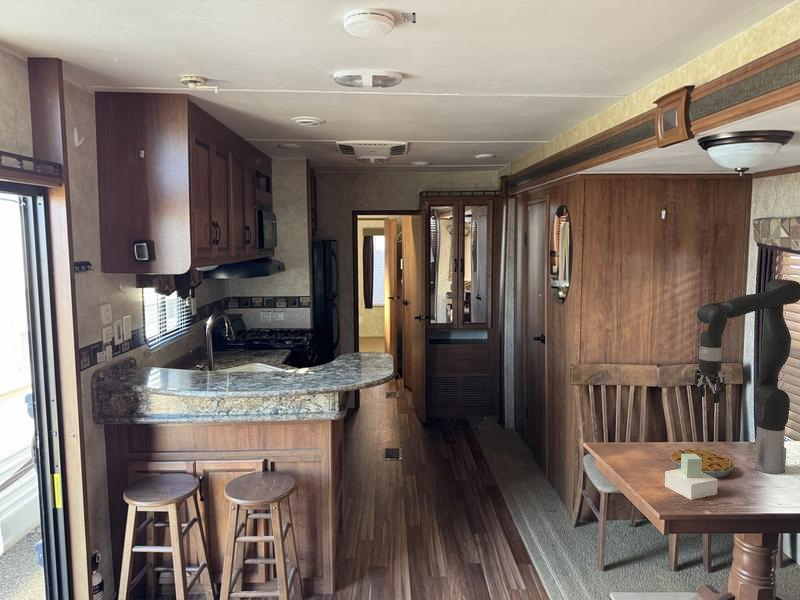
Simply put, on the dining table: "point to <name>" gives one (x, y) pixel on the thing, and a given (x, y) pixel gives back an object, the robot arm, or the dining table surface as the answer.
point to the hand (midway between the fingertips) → (708, 399)
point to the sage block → (691, 465)
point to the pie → (706, 462)
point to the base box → (691, 484)
